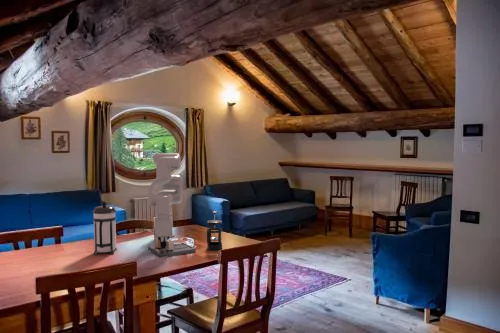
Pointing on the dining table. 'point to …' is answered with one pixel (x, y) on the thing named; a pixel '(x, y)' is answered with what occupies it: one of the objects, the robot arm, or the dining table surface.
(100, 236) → the coffee press
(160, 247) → the fader terracotta
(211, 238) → the french press
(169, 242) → the fader ivory
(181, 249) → the console
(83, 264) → the dining table surface
